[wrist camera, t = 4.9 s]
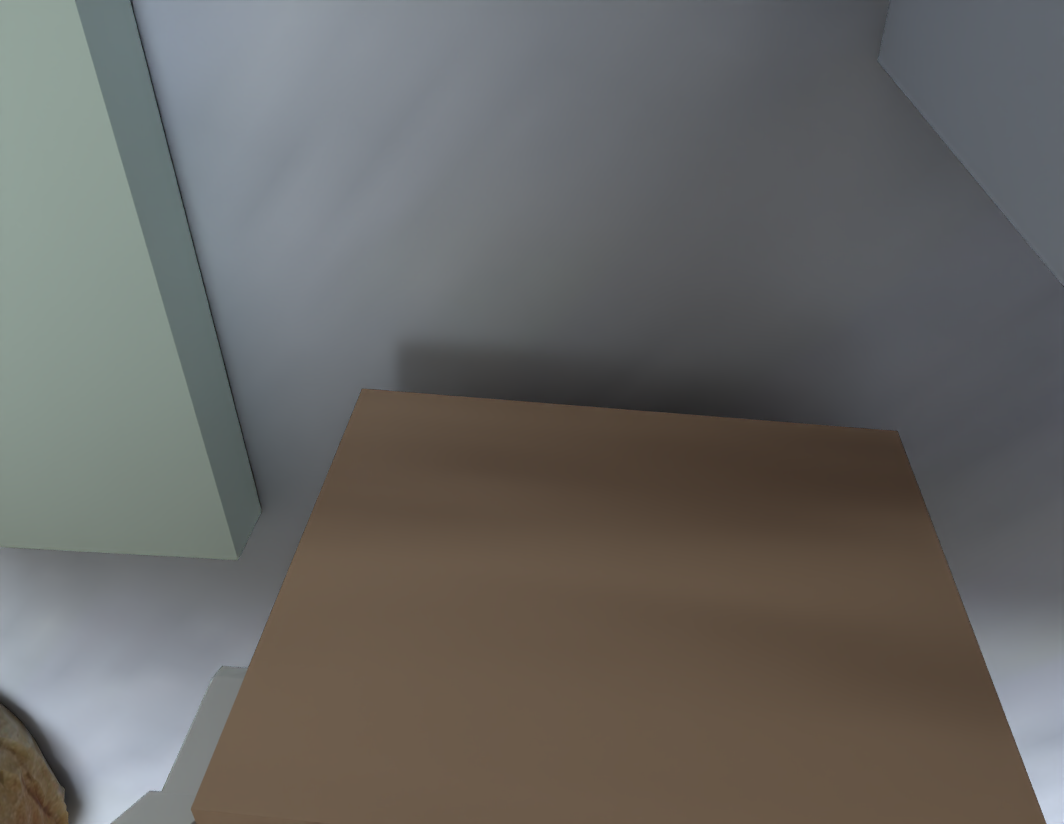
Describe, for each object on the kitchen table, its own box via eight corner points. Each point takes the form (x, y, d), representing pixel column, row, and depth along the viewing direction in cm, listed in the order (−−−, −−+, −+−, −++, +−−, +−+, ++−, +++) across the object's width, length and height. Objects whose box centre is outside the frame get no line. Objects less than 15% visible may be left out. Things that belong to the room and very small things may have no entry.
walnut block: (361, 388, 10) (190, 808, 6) (897, 430, 10) (1075, 901, 6) (398, 738, 14) (310, 1118, 10) (772, 774, 14) (827, 1181, 10)
